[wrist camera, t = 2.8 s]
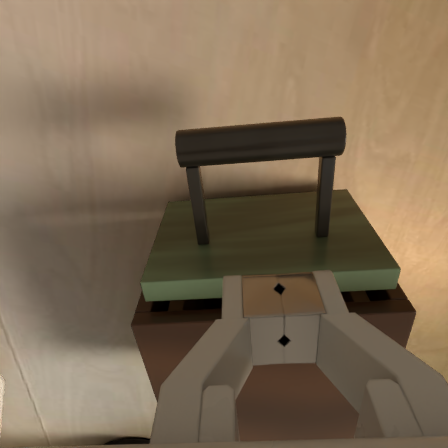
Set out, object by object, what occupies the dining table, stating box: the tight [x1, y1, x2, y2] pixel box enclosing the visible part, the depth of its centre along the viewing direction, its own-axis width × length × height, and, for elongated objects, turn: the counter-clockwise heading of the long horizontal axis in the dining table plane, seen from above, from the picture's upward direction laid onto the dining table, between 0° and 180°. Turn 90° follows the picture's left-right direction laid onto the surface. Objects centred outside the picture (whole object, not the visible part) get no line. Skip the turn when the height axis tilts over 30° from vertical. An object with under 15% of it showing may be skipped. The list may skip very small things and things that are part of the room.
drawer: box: [140, 117, 401, 311], centre depth 20 cm, size 19×11×8 cm, turn 5°
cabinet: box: [131, 282, 416, 442], centre depth 22 cm, size 15×13×10 cm
